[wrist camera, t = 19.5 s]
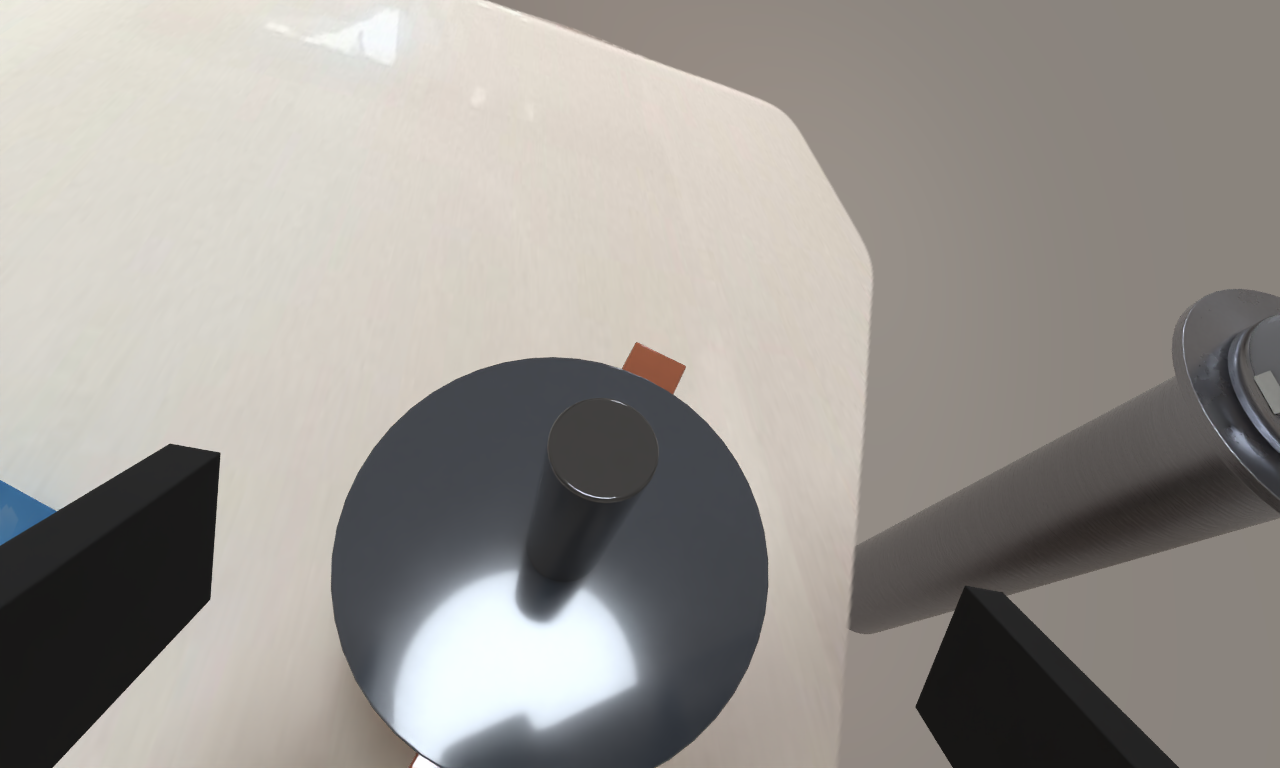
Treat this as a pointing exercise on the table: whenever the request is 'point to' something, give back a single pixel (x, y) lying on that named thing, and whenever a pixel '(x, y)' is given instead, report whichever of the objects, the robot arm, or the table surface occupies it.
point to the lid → (549, 571)
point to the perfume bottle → (18, 512)
